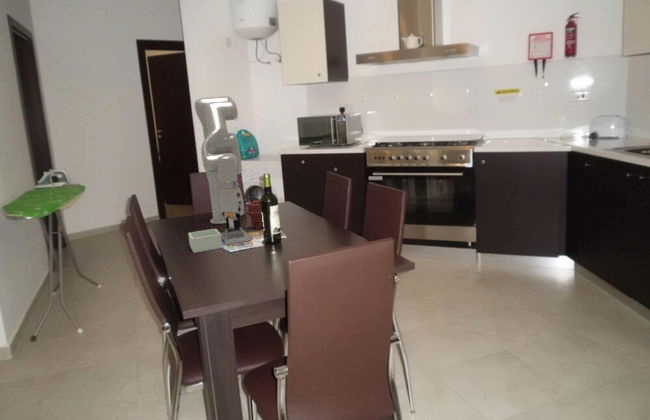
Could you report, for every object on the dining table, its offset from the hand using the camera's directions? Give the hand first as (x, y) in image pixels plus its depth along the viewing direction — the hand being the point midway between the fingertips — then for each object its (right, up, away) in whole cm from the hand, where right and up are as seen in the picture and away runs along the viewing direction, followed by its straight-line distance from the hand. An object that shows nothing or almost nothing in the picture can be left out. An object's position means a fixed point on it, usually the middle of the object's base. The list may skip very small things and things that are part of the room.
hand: (233, 227), depth 212 cm
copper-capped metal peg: (0, -3, +1) cm, 3 cm away
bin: (-10, -8, -8) cm, 15 cm away
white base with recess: (0, -5, +1) cm, 5 cm away
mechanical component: (+9, -1, +18) cm, 20 cm away
